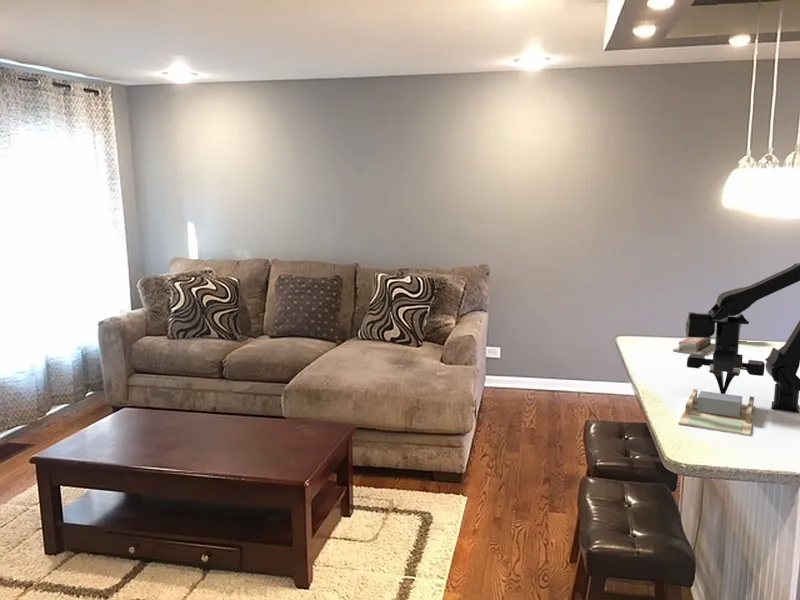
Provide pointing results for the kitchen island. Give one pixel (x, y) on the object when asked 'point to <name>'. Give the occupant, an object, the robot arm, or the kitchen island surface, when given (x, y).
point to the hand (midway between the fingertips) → (722, 395)
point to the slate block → (719, 404)
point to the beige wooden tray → (718, 417)
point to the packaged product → (695, 346)
